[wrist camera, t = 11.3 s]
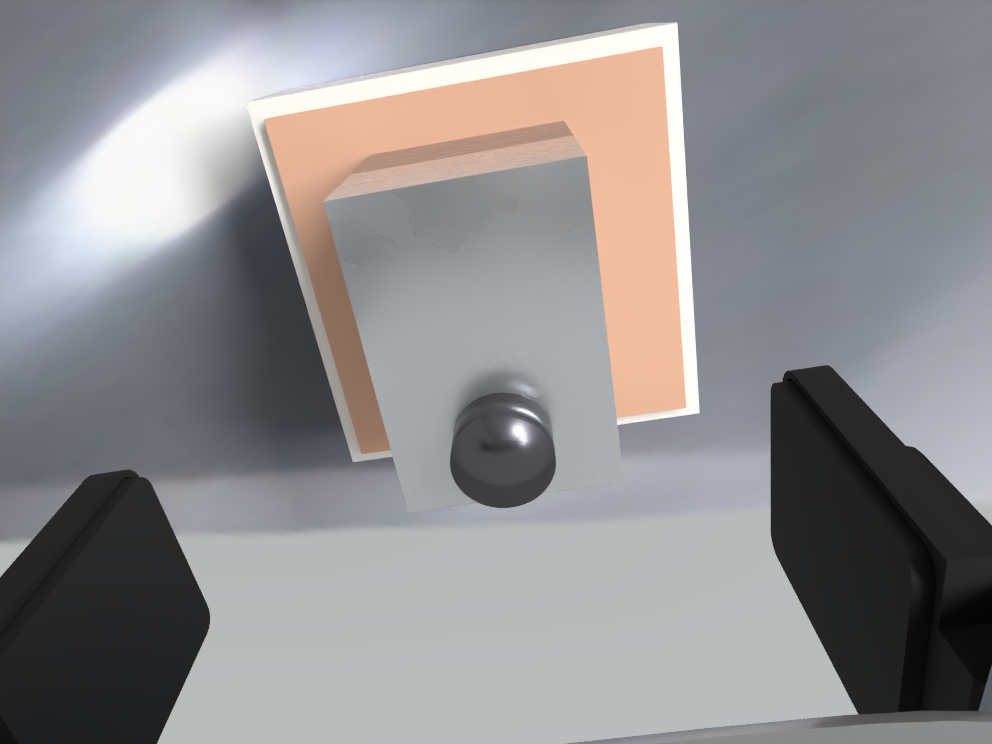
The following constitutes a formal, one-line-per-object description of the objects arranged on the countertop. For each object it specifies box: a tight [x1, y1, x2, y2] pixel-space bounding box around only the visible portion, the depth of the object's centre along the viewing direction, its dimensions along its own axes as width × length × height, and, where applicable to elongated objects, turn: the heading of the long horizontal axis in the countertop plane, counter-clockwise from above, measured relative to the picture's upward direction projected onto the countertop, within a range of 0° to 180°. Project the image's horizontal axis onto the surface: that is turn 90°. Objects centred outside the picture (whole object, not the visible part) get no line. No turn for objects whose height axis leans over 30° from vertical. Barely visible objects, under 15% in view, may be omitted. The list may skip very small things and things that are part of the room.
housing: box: [323, 121, 624, 513], centre depth 19 cm, size 8×6×7 cm
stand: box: [245, 23, 699, 462], centre depth 24 cm, size 12×12×5 cm
